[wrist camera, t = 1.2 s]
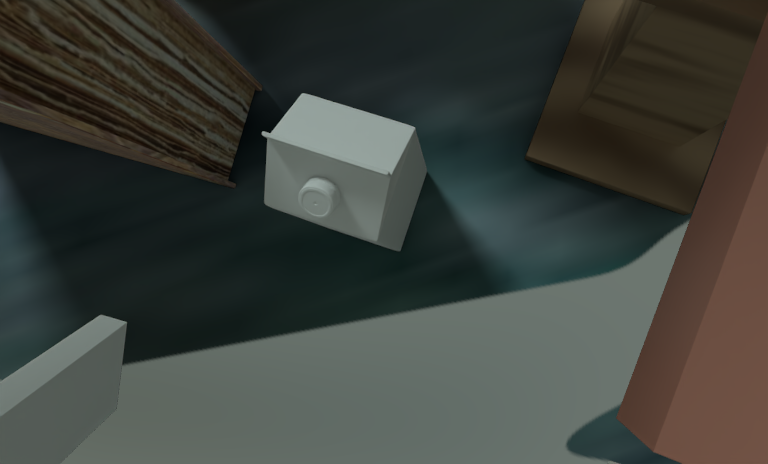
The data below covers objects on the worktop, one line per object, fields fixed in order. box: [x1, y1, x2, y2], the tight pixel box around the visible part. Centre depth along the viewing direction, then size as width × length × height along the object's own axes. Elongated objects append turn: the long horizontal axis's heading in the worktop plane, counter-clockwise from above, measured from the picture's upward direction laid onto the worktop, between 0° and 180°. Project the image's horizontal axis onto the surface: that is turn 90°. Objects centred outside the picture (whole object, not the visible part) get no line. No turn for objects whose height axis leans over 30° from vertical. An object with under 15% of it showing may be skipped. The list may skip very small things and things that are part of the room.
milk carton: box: [262, 93, 427, 251], centre depth 41 cm, size 7×7×19 cm
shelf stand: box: [525, 0, 768, 215], centre depth 33 cm, size 17×13×30 cm
